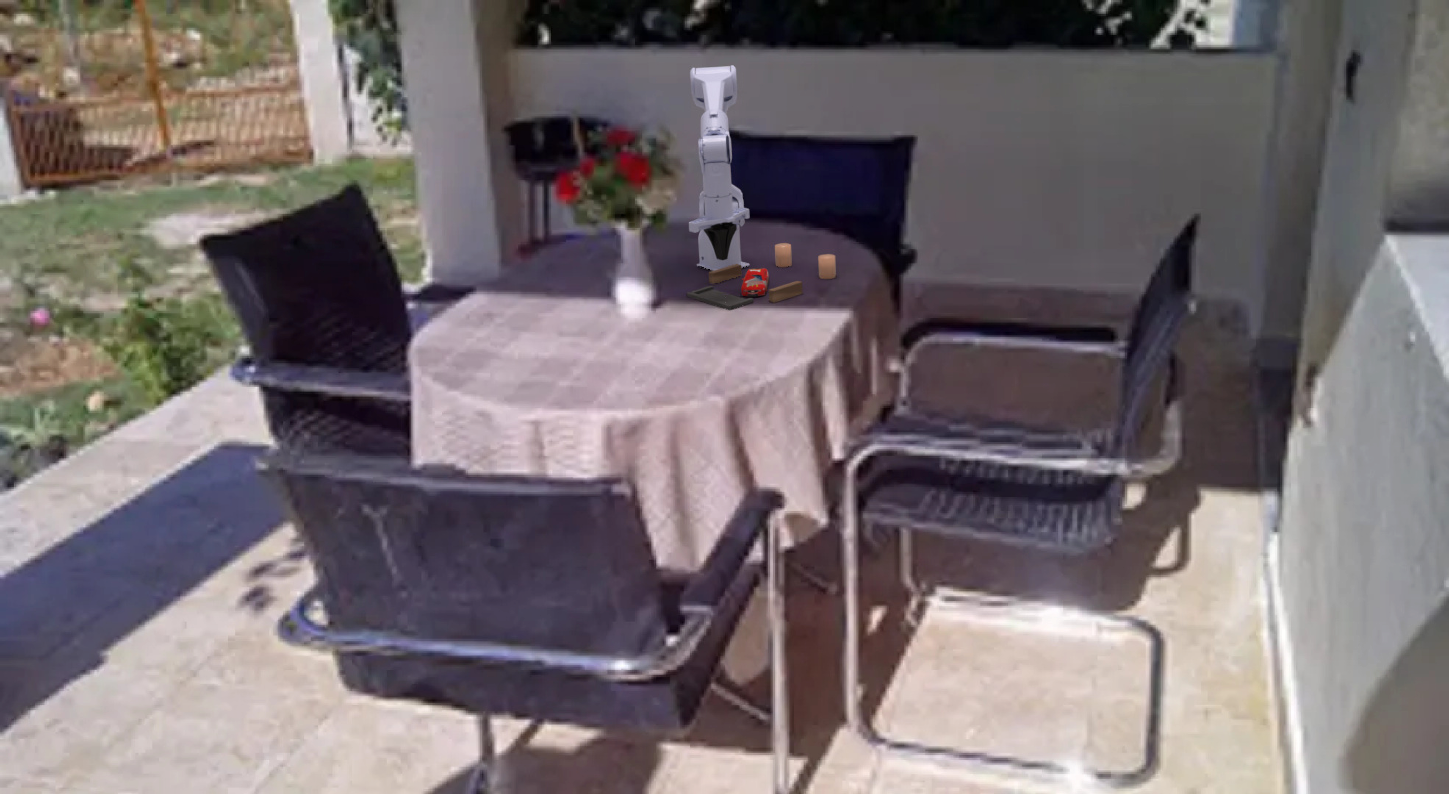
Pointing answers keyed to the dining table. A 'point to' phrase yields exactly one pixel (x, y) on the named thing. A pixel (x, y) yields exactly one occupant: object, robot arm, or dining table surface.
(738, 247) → the robot arm
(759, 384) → the dining table surface
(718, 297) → the tray
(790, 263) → the peach rounded stick
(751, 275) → the race car
